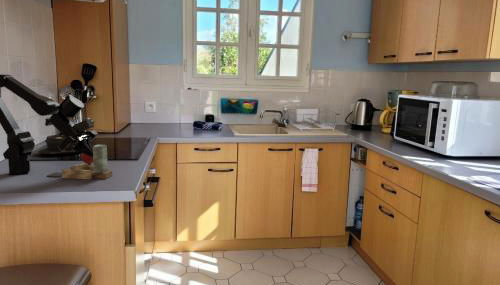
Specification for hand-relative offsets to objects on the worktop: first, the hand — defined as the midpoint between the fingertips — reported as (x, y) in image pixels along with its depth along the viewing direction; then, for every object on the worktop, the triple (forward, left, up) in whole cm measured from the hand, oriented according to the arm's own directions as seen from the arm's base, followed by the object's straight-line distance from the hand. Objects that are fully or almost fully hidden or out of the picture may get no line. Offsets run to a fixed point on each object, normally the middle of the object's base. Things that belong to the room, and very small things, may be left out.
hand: (95, 156), depth 144 cm
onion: (-2, +22, -8) cm, 24 cm away
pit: (-13, +7, -8) cm, 17 cm away
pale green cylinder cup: (+2, -1, -8) cm, 8 cm away
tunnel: (-5, +3, -8) cm, 9 cm away
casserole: (-12, +55, -8) cm, 57 cm away
